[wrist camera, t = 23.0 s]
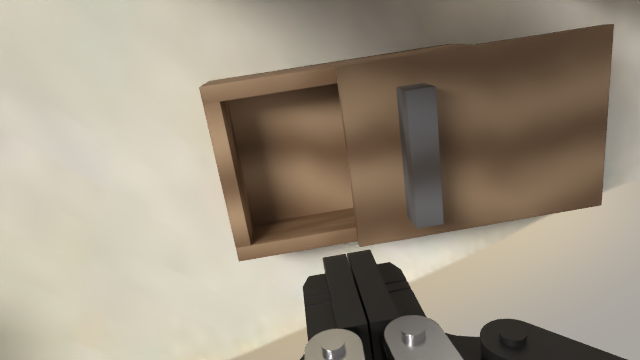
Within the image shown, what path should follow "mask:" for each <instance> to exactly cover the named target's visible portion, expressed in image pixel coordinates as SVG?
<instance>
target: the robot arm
mask: <svg viewBox="0 0 640 360" xmlns="http://www.w3.org/2000/svg"><path fill="white" fill-rule="evenodd" d="M323 263H324V270H325V274H320V275H314V276H309V277H308V279H307V280H306V282H305V284H304V286H303V293H304V304H305V314H306V324H307V334H308V343H307V345H306V347H305V354H304V355H303V357H302V358H301V359H300V360H627V359H624V358H621V357H618V356H616V355H613V354H610V353H608V352H605V351H602V350H599V349H597V348H594V347H591V346H589V345H586V344H583V343H581V342H578V341H575V340H572V339H569V338H567V337H564V336H562V335H559V334H556V333H553V332H551V331H548V330H545V329H543V328H540V327H537V326H534V325H532V324H529V323H526V322H523V321H519V320H515V319H498V320H494V321H491V322H489V323H487V324H486V325H485V326H484V327H483V328H482V329H481V332H480V337H467V336H456V335H451V334H447V333H445V332H444V331H443V330H442V328H441V327H440V326H439V324H438V323H436V322H435V321H434V320H432V319H430V318H427V317H426V316H425V314H424V312H423V310H422V308H421V306H420V304H419V303H418V301H417V299H416V297H415V295H414V293H413V291H412V290H411V288H410V286H409V284H408V282H407V281H406V278H405V276H404V274H403V273H402V271H401V269H399V268H398V267H396V266H395V265H393V264H392V263H390V262H388V263H382V264H376V262H375V259H374V257H373V255H372V253H371V251H370V250H364V251H359V252H353V253H347V257H346V254H342V255H336V256H330V257H325V258H323Z"/></svg>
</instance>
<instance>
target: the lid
mask: <svg viewBox="0 0 640 360" xmlns="http://www.w3.org/2000/svg"><path fill="white" fill-rule="evenodd" d="M613 29H614V24H607V25H598V26H592V27H585V28H579V29H573V30H566V31H560V32H553V33H547V34H540V35H534V36H527V37H521V38H515V39H508V40H502V41H495V42H489V43H482V44H476V45H469V46H463V47H457V48H450V49H444V50H437V51H431V52H424V53H418V54H411V55H405V56H399V57H392V58H386V59H379V60H373V61H366V62H360V63H353V64H347V65H341V66H335V67H336V75H337V83H338V91H339V99H340V106H341V114H342V122H343V130H344V138H345V145H346V153H347V161H348V169H349V176H350V184H351V192H352V200H353V208H354V215H355V223H356V231H357V239H358V243H359V246H360V247H363V246H368V245H374V244H380V243H386V242H392V241H397V240H403V239H409V238H415V237H420V236H426V235H432V234H438V233H443V232H449V231H455V230H461V229H467V228H472V227H478V226H484V225H490V224H495V223H501V222H507V221H513V220H519V219H524V218H530V217H536V216H542V215H547V214H553V213H559V212H565V211H570V210H576V209H582V208H588V207H593V206H599V205H601V203H602V202H601V201H602V188H603V174H604V159H605V145H606V130H607V116H608V101H609V87H610V72H611V58H612V43H613Z"/></svg>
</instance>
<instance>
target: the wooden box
mask: <svg viewBox="0 0 640 360" xmlns="http://www.w3.org/2000/svg"><path fill="white" fill-rule="evenodd" d="M463 46H469V45H464V44H446V45H440V46H433V47H427V48H420V49H414V50H407V51H401V52H394V53H388V54H381V55H375V56H368V57H362V58H356V59H349V60H343V61H336V62H330V63H323V64H317V65H310V66H304V67H297V68H291V69H284V70H278V71H272V72H265V73H259V74H252V75H246V76H239V77H233V78H226V79H220V80H213V81H209V82H207V83H206V84H204V85H202V86H201V87H199V89H200V93H201V98H202V102H203V106H204V111H205V115H206V120H207V124H208V128H209V133H210V137H211V141H212V146H213V150H214V154H215V159H216V163H217V167H218V172H219V176H220V181H221V185H222V189H223V194H224V198H225V202H226V207H227V211H228V215H229V220H230V224H231V229H232V233H233V237H234V242H235V246H236V250H237V255H238V259H239V261H244V260H250V259H255V258H261V257H267V256H273V255H279V254H284V253H290V252H296V251H302V250H308V249H313V248H319V247H325V246H331V245H337V244H342V243H348V242H354V241H358V239H357V231H356V223H355V215H354V208H353V200H352V192H351V184H350V176H349V169H348V161H347V153H346V145H345V138H344V130H343V122H342V114H341V106H340V99H339V91H338V83H337V75H336V67H335V66H341V65H347V64H353V63H360V62H366V61H373V60H379V59H386V58H392V57H399V56H405V55H411V54H418V53H424V52H431V51H437V50H444V49H450V48H457V47H463Z"/></svg>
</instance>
